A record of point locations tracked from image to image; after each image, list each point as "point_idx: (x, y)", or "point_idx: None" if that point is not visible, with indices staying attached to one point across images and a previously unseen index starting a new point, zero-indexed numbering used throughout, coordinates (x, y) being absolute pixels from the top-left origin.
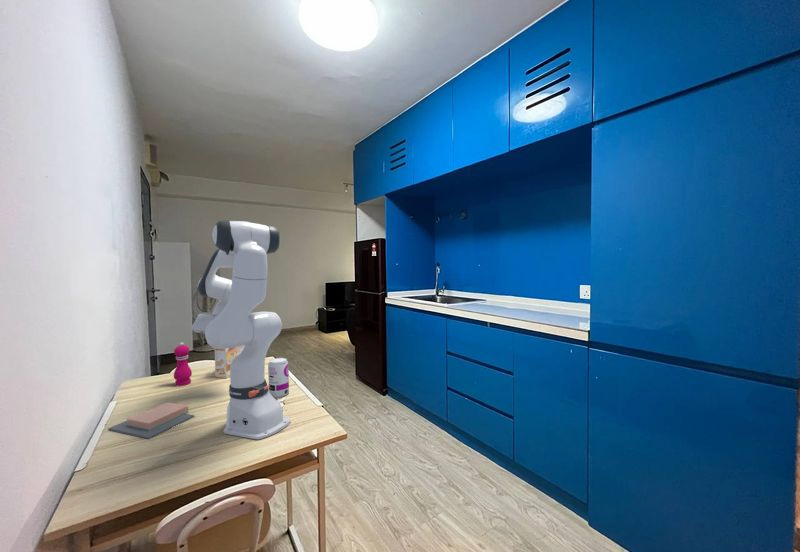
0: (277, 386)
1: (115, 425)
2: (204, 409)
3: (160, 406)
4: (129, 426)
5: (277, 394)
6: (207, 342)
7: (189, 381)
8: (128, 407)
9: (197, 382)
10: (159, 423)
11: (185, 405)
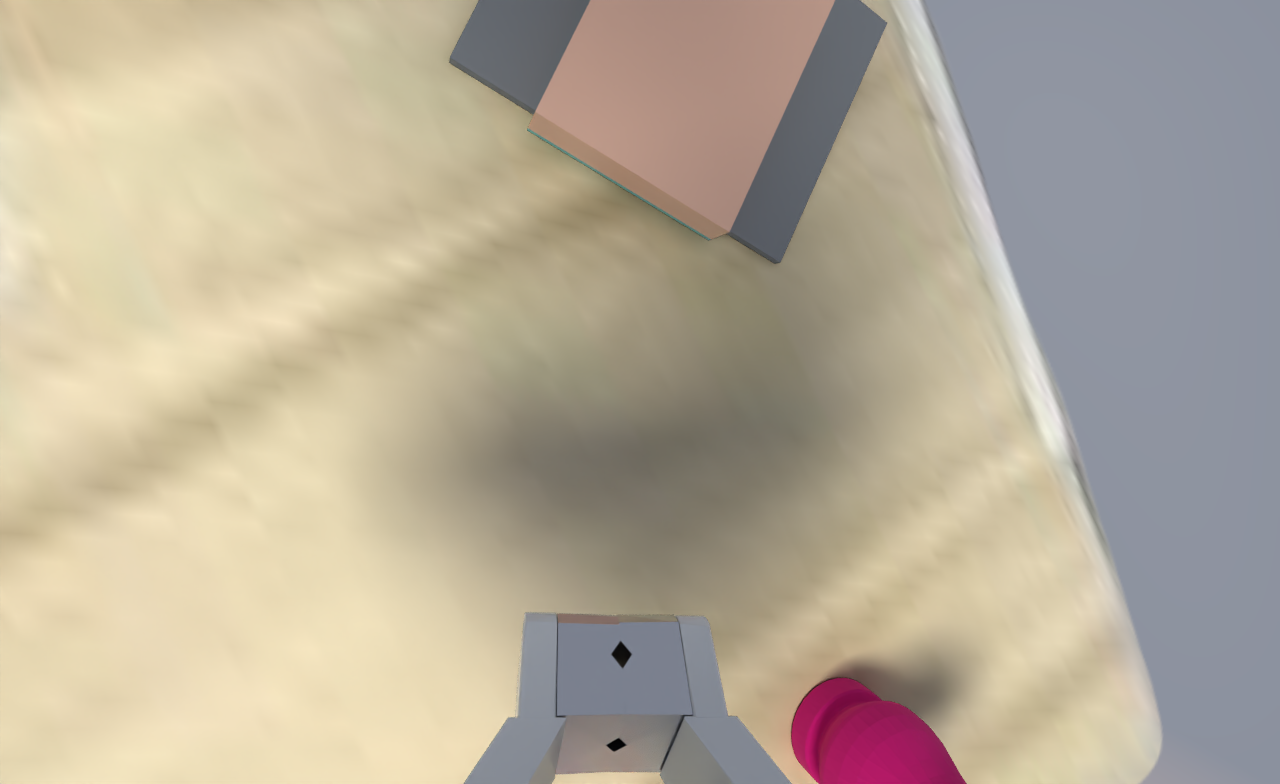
0: None
1: (872, 51)
2: (434, 189)
3: (736, 159)
4: None
5: None
6: (691, 616)
7: (800, 735)
8: (946, 339)
9: None
10: None
11: (559, 127)
